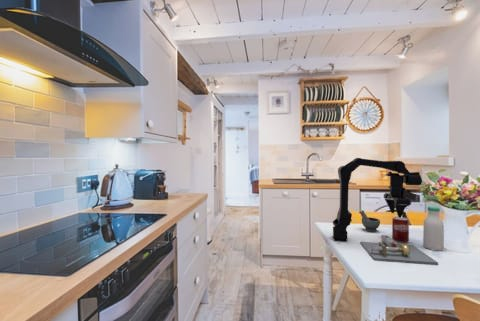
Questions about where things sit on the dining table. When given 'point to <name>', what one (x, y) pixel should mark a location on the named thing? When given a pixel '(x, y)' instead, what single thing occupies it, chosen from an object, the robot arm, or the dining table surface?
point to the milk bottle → (433, 230)
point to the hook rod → (393, 249)
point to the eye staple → (383, 249)
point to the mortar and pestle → (369, 222)
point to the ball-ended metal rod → (387, 241)
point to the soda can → (400, 229)
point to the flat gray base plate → (399, 255)
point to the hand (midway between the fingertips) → (396, 215)
